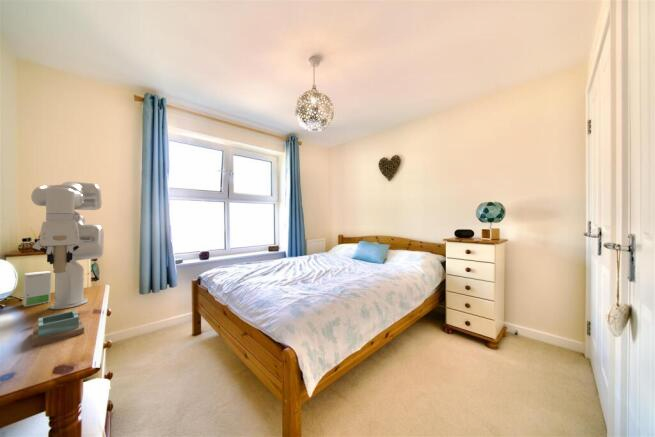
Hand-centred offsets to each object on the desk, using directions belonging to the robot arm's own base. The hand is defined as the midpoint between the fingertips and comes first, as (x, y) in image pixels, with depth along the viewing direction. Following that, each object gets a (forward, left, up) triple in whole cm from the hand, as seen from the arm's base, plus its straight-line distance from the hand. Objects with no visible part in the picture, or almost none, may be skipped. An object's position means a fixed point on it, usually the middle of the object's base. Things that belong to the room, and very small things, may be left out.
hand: (59, 262), depth 92 cm
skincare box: (-44, -5, -26) cm, 52 cm away
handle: (0, 0, -4) cm, 4 cm away
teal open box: (+9, 0, -26) cm, 27 cm away
